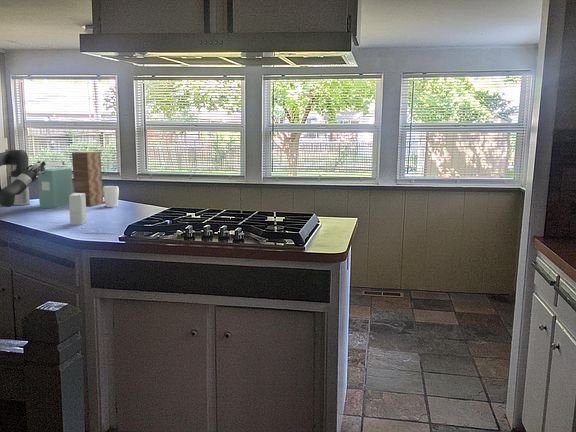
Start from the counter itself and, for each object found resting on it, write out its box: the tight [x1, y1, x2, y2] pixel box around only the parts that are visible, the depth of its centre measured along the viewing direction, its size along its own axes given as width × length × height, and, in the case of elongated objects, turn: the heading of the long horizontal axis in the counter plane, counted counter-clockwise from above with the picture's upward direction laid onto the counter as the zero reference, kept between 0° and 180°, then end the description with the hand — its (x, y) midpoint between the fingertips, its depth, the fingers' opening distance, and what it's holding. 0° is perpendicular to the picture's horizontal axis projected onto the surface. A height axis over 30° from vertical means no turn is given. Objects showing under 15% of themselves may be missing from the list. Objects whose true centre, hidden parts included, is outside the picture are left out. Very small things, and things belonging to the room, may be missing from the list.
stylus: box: [33, 160, 65, 168], centre depth 308 cm, size 24×2×2 cm, turn 167°
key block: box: [37, 167, 74, 209], centre depth 314 cm, size 18×10×22 cm, turn 167°
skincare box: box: [68, 192, 87, 226], centre depth 257 cm, size 8×6×15 cm
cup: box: [102, 185, 120, 208], centre depth 314 cm, size 9×9×12 cm
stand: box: [71, 151, 106, 208], centre depth 319 cm, size 16×12×32 cm
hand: (42, 162), depth 301 cm, fingers closed on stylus, 2 cm apart
